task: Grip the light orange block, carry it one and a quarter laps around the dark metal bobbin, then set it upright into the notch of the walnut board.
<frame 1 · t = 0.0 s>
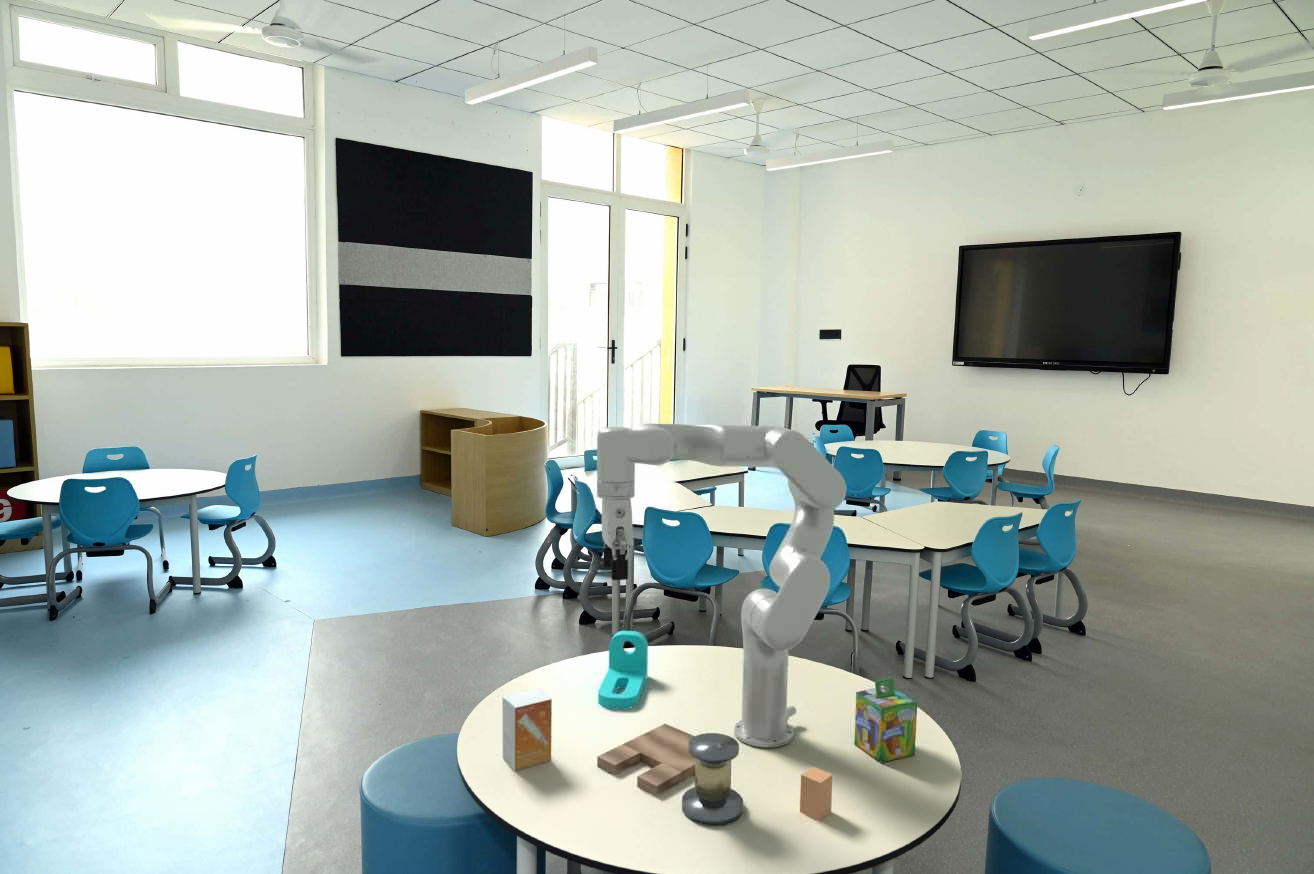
hand: (615, 572, 164), 37 cm above the table, tool pointing down, fingers open, 9 cm apart
chalk box: (884, 750, 169), on the table
bracket: (622, 692, 197), on the table
bobbin: (712, 808, 147), on the table
light orange block: (815, 811, 146), on the table
notched board: (661, 761, 163), on the table
small box: (527, 760, 163), on the table
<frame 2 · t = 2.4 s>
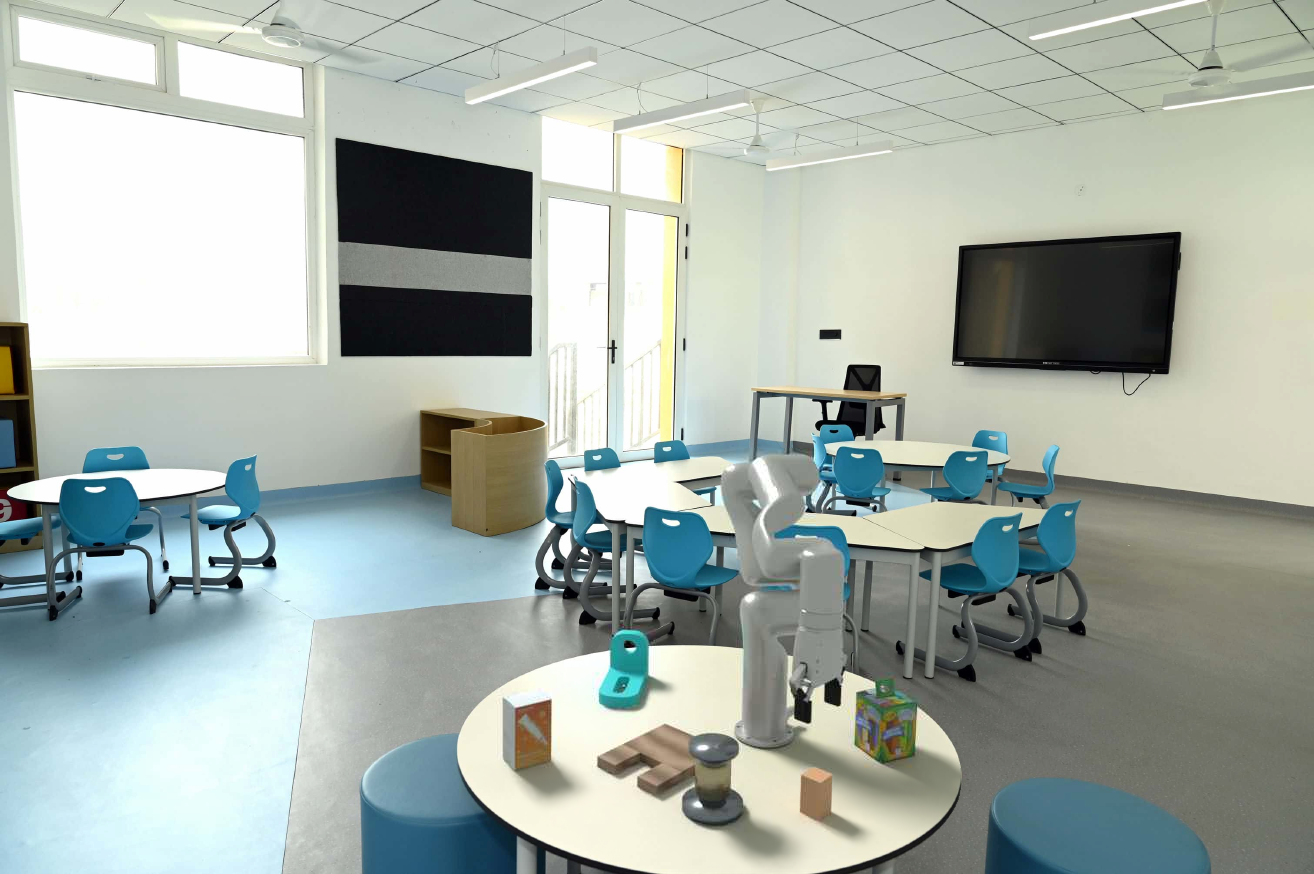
hand: (817, 712, 144), 19 cm above the table, tool pointing down, fingers open, 9 cm apart
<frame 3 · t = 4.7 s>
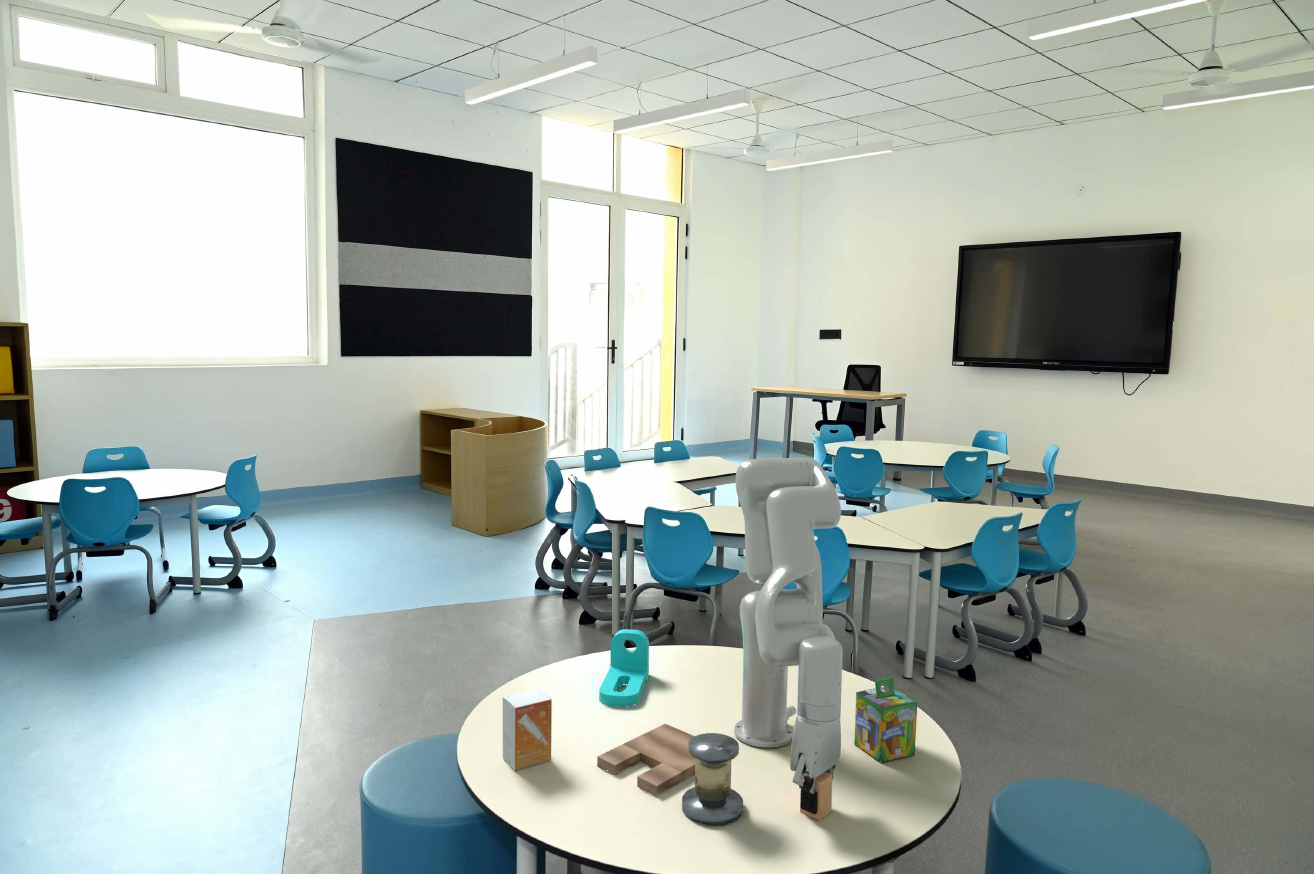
hand: (815, 804, 146), 1 cm above the table, tool pointing down, fingers closed on light orange block, 3 cm apart
light orange block: (815, 811, 146), on the table, touching gripper
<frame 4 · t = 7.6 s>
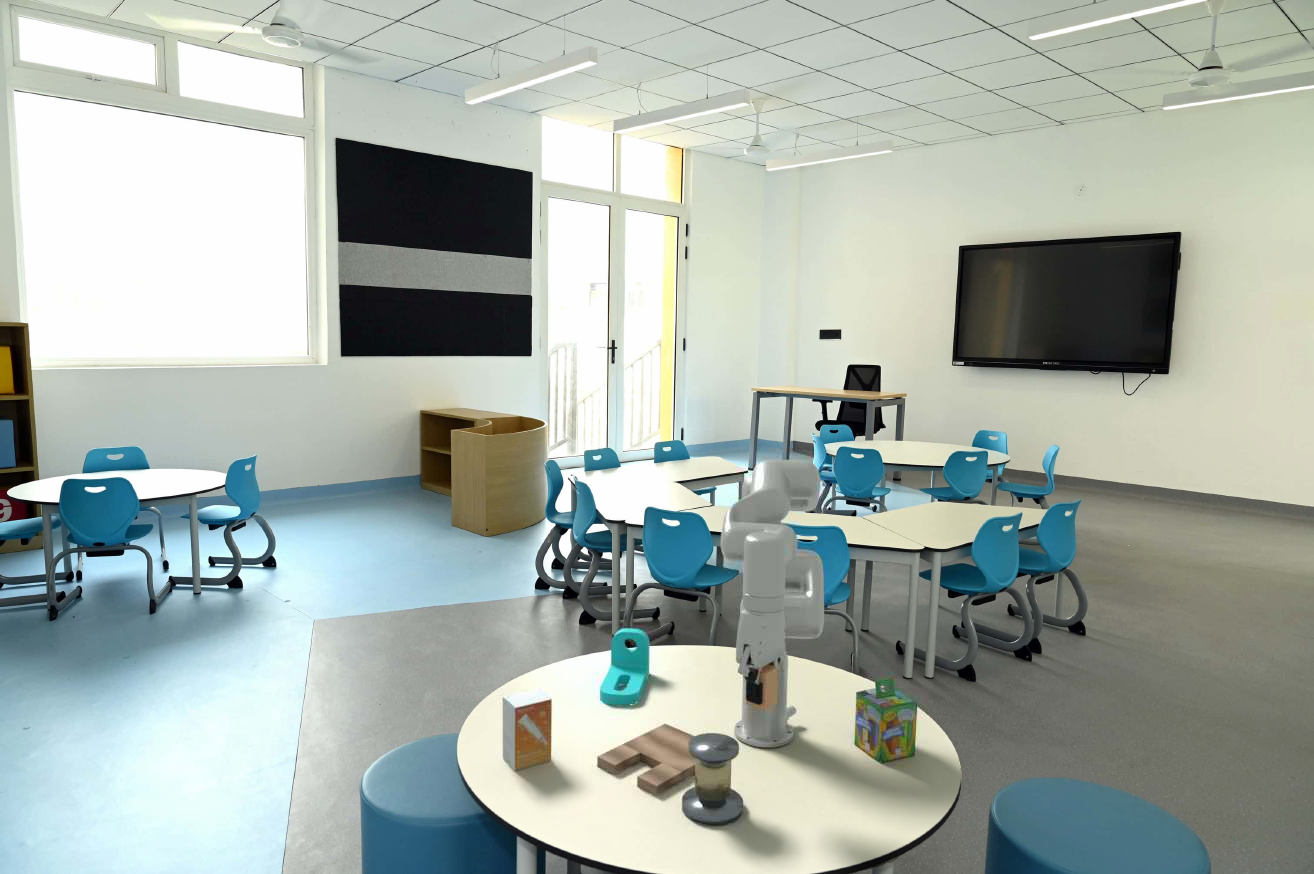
hand: (761, 697, 149), 19 cm above the table, tool pointing down, fingers closed on light orange block, 4 cm apart
light orange block: (761, 703, 149), point 18 cm above the table, touching gripper
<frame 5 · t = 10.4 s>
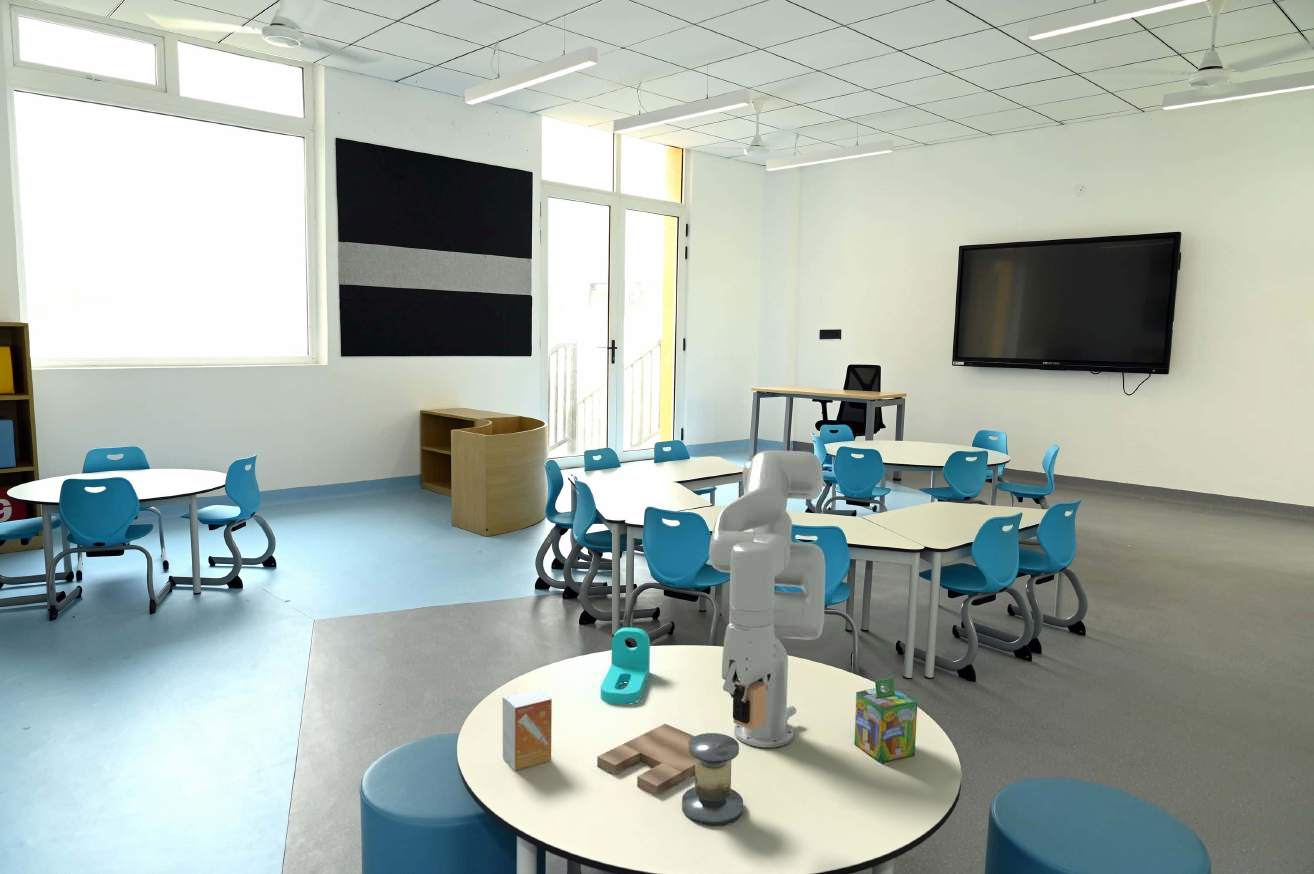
hand: (749, 715, 142), 19 cm above the table, tool pointing down, fingers closed on light orange block, 4 cm apart
light orange block: (749, 722, 142), point 18 cm above the table, touching gripper
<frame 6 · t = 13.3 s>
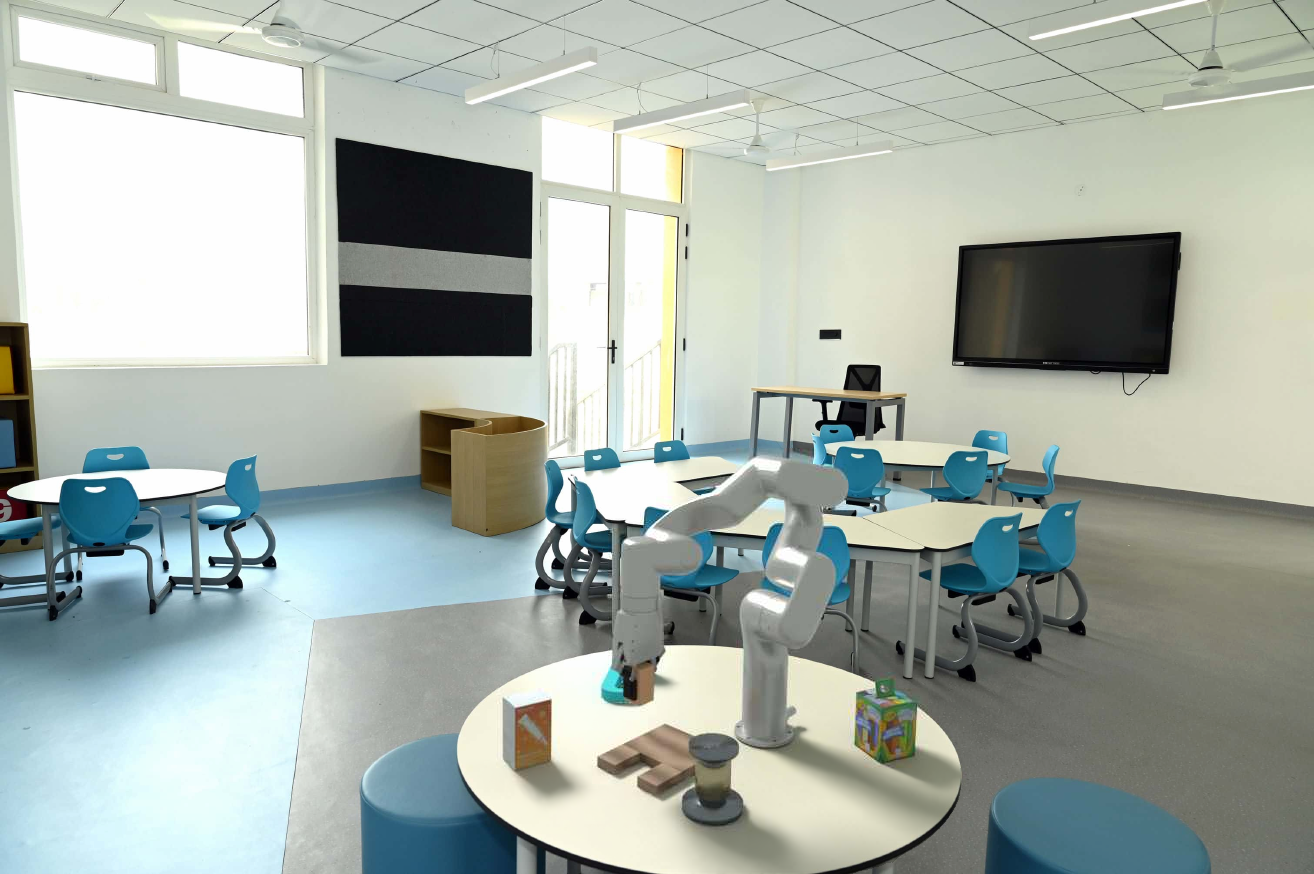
hand: (638, 693, 157), 16 cm above the table, tool pointing down, fingers closed on light orange block, 4 cm apart
light orange block: (639, 700, 157), point 15 cm above the table, touching gripper
when the fingers open (3 cm above the table, at t = 15.9 s): light orange block drops 2 cm, on the table.
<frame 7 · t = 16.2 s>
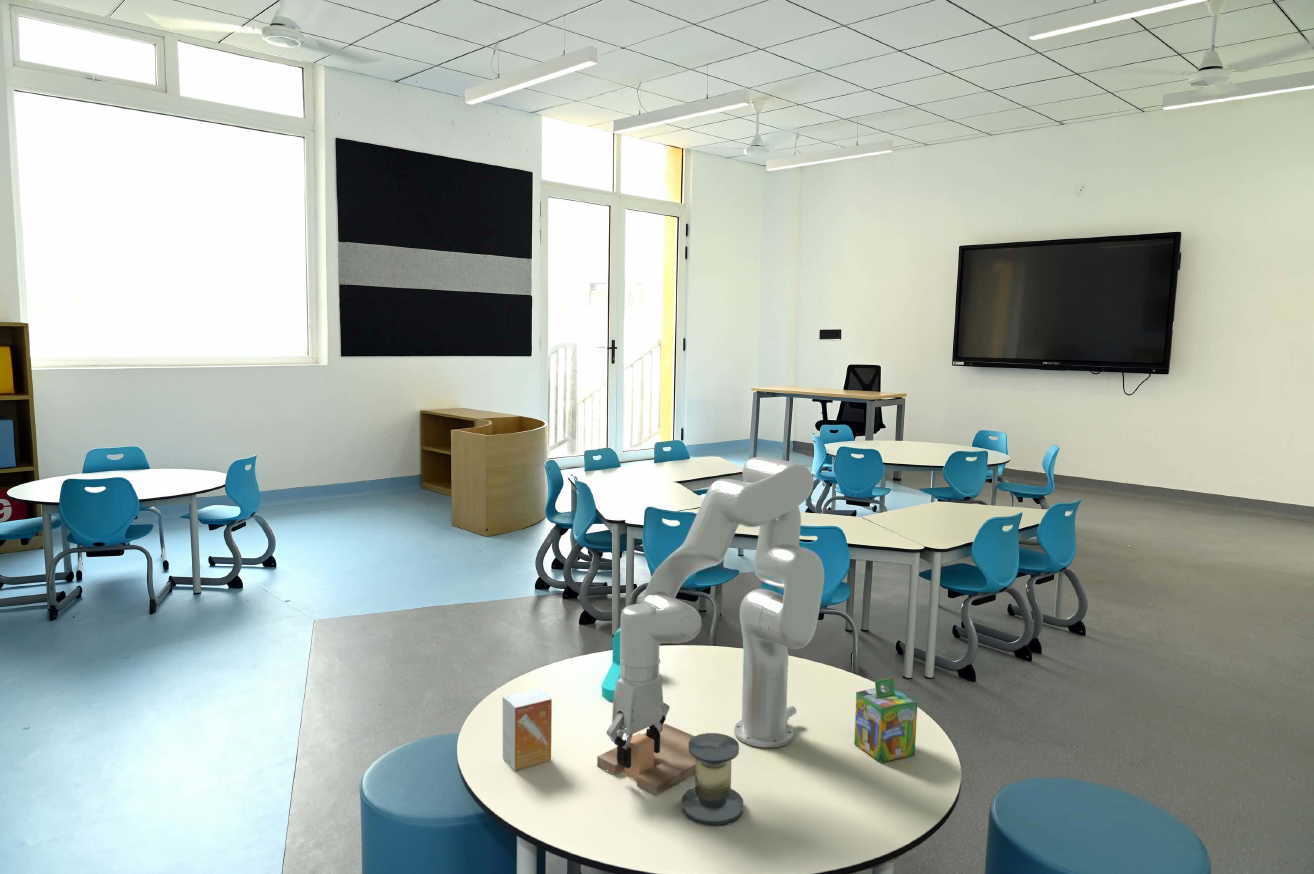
hand: (638, 757, 158), 3 cm above the table, tool pointing down, fingers open, 7 cm apart
light orange block: (639, 774, 158), on the table
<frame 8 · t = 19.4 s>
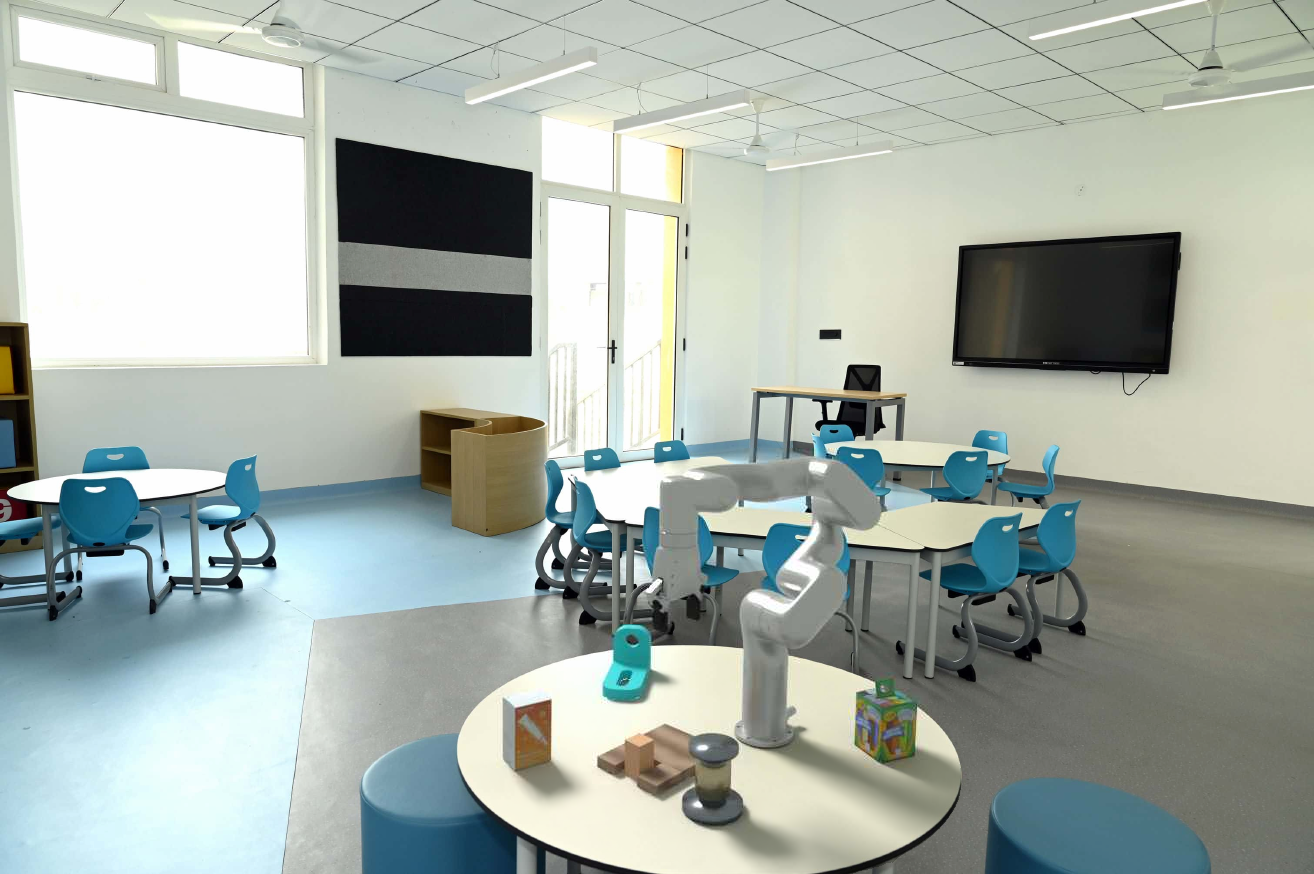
hand: (677, 624, 160), 28 cm above the table, tool pointing down, fingers open, 9 cm apart
at the end: light orange block 0.3 cm from the target spot on the notched board, point 0.0 cm above the notched board's base; light orange block tilted 0°; the gripper is holding nothing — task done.
